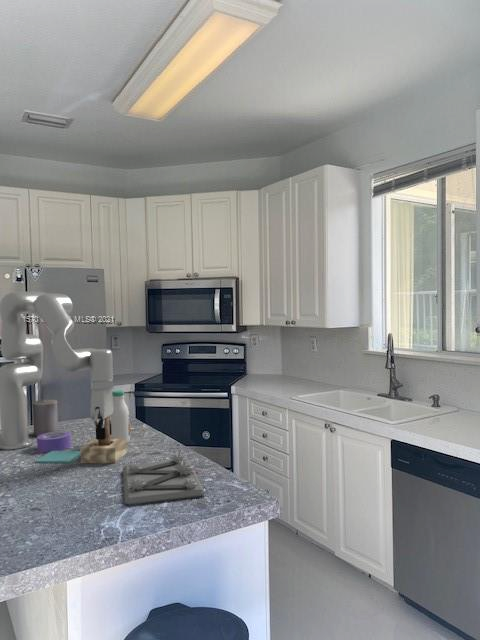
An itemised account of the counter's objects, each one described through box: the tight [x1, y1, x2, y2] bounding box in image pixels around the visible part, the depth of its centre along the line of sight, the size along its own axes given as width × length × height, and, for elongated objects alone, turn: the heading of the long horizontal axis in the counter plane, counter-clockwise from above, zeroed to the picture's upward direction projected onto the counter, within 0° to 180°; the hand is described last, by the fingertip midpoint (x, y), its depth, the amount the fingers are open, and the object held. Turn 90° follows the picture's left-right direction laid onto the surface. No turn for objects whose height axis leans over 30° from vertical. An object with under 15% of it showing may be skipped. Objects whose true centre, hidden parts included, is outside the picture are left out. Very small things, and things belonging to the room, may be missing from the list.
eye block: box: [80, 438, 128, 464], centre depth 174 cm, size 12×12×5 cm
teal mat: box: [35, 450, 81, 464], centre depth 175 cm, size 12×12×1 cm
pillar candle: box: [32, 399, 59, 438], centre depth 209 cm, size 10×10×15 cm
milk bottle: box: [110, 390, 131, 444], centre depth 193 cm, size 8×8×20 cm
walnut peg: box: [98, 417, 110, 446], centre depth 174 cm, size 4×4×14 cm
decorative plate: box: [122, 451, 206, 506], centre depth 148 cm, size 30×22×7 cm
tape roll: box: [36, 430, 72, 453], centre depth 188 cm, size 12×12×5 cm
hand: (103, 436), depth 174 cm, fingers open, 5 cm apart
